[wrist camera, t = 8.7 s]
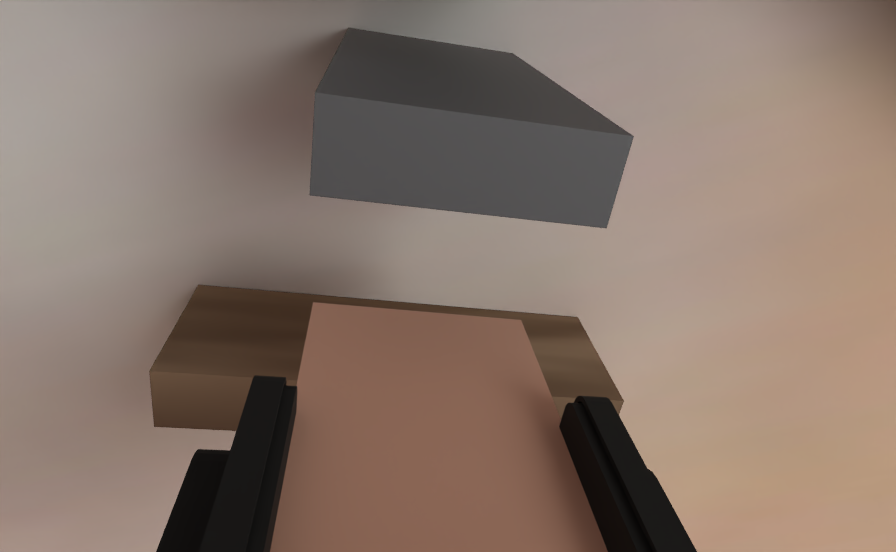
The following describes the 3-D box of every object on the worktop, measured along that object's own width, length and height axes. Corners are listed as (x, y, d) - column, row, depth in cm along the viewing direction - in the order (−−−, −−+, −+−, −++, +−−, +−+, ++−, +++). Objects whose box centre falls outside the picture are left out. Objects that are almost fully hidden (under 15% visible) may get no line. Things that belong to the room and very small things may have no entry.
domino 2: (313, 301, 14) (193, 895, 5) (521, 319, 15) (736, 857, 6) (309, 358, 15) (197, 967, 6) (507, 372, 15) (683, 926, 6)
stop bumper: (198, 284, 21) (149, 371, 16) (577, 317, 23) (623, 400, 19) (200, 332, 22) (154, 426, 17) (565, 359, 24) (606, 448, 20)
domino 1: (348, 27, 18) (315, 92, 9) (512, 53, 18) (633, 136, 10) (344, 83, 18) (309, 195, 9) (502, 106, 19) (606, 228, 10)
